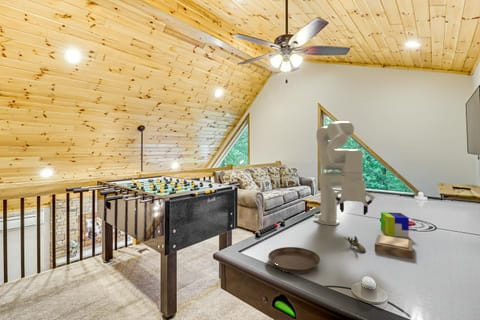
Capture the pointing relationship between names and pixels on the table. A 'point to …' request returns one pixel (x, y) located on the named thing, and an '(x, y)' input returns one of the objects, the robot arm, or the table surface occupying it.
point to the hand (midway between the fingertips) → (353, 212)
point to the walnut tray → (394, 246)
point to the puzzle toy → (394, 224)
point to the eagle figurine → (356, 244)
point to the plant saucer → (294, 259)
